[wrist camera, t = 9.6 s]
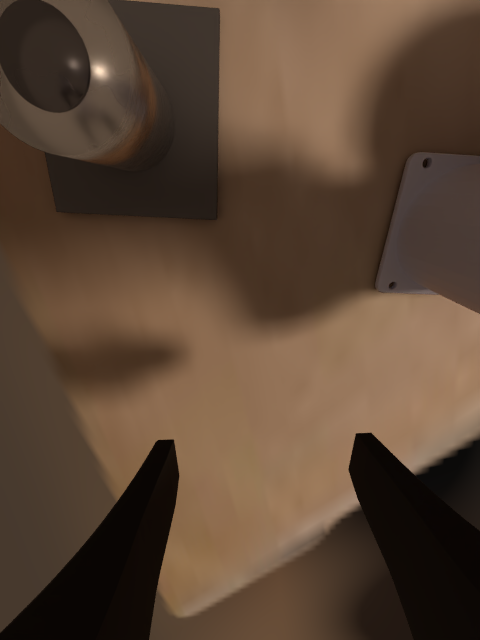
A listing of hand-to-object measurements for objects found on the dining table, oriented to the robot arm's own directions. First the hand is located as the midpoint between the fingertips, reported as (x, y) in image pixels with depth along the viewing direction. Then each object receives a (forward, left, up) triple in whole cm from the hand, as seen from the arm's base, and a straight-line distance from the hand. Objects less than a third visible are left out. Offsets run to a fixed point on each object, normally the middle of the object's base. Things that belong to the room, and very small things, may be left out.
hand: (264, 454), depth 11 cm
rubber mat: (+7, -13, -10) cm, 17 cm away
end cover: (+7, -13, -9) cm, 17 cm away
